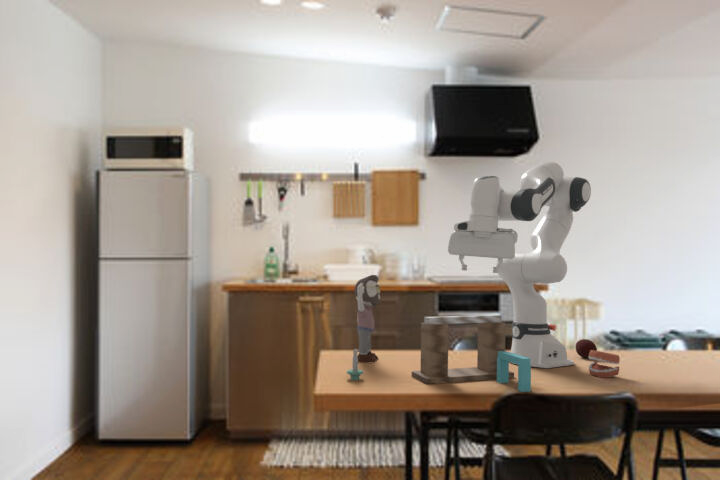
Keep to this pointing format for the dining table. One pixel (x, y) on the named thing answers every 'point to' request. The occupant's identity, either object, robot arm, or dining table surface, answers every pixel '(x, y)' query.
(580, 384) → the dining table surface
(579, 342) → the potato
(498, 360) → the teal stepped bracket
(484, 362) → the shelf
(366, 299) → the figurine
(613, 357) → the dentures
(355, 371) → the screw
